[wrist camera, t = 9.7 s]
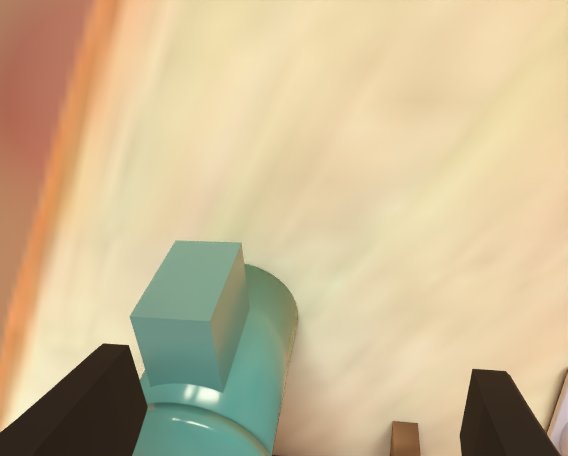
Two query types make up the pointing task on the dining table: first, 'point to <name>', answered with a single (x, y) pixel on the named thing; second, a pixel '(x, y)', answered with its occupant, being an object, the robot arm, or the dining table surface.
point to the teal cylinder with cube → (212, 353)
